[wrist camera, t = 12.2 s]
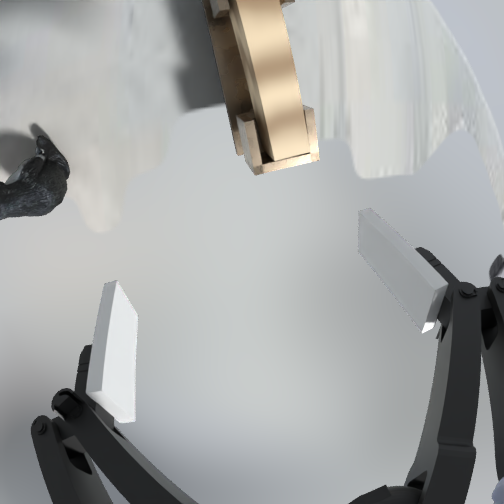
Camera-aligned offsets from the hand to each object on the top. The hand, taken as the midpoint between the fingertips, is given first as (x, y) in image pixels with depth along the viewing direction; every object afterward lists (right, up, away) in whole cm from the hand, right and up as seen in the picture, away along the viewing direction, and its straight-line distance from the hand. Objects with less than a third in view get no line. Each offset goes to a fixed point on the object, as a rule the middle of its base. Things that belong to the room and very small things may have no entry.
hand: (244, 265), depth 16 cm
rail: (+1, +21, +14) cm, 25 cm away
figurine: (-28, +13, +20) cm, 37 cm away
